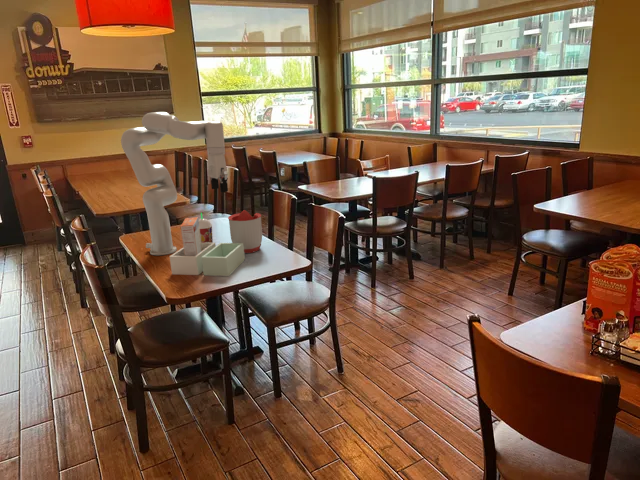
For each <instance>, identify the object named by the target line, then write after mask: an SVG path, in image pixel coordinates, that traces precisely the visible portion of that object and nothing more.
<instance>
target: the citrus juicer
mask: <svg viewBox="0 0 640 480" xmlns="http://www.w3.org/2000/svg"><path fill="white" fill-rule="evenodd" d="M227 219H228V221H229V222H228V224H229V233H230V240H231V243H243V245H244V254H253V253H255V252H258V251H260V249H261V246H262V241H263V229H262V228H263V227H262V225H263V224H262V214H261V213H259V212H256V213H254V214H253V216H252V215H251V214H250V213H249V212H248V211H247V210H245V209H244V210H242V211H241V212H240V213H234V214H231V215H230V216H228V217H227Z"/></svg>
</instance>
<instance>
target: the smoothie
mask: <svg viewBox="0 0 640 480" xmlns="http://www.w3.org/2000/svg"><path fill="white" fill-rule="evenodd" d="M198 220H199V228H200V235H201V242H202V243H214V242H213V241H214V240H213V227H212V226H213V224H212V223H211V221H210V220H208V219H207V218H204V217H203V212H200V218H198Z"/></svg>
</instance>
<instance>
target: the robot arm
mask: <svg viewBox="0 0 640 480" xmlns="http://www.w3.org/2000/svg"><path fill="white" fill-rule="evenodd" d="M141 124H142V126H139V127H138V126H137V127H131V128H128V129H127V130H125V131H123V133H122V135H121V138H120V139H121V140H120V143H121V149H122V150H123V153H124V154H125V155H126V158H127V159H128V161H129V163H130V166H131V168H132V170H133V172H134V175H135V177H136V180H137V182H138V183H139V185H140V186H142V187H151V186H156V187H152V188H149V189H147V190H145V192H144V193H143V195H142V202H143V203H142V204H143V205H144V208H145V211H146V214H147V215H146V216H147V220H148V221H147V222H148V227H149V234H150V239H151V243H150V242H146V243H145V249H150V251H149V254H150V255H151V256H167V255H170V254H171V255H172V254H174V253H176V252H177V251H178V249H177V247H176V245H175V246H174V244H173V237H172V231H171V224H170V217H169V214H168V211H167V210H166V209H165V206H169V205H172V204H173V203H175V202H176V201H177V199H178V191H177V188H176V186H175V184H174V181H173V179H172V177H171V174H170V172H169V170H168V169H167V167H166V166H164V165H163V164H160V163H154V164H152V163H151V160H150V159H149V156H148V155H147V153H146V152H145V151H144V150H143V148H141V147H145V146H150V145H156V144H157V143H159V142H160V141H161V140H162V139H163V138H164V137H165V136H166V135H168V136H171V137H173V138H175V139H179V140H183V141H184V140H185V141H195V140H196V141H197V140H203V139H204V140H206V152H207V169H208V170H207V171H208V172H207V173H208V176H209V178H210V184H211V190H216V189H217V190H218V189H220V193H227V192H228V193H229V189H228V186H229V185H228V179H229V178H228V172H227V163H226V157H225V155H226V148H225V147H226V146H225V136H224V125H223V123H222V122H221V121H217V120H216V121H213V120H212V121H209V120H199V121H198V120H197V121H181V120H180V119H179V118H178V117H177V116H175V115H172V114H170V113H168V112H166V111H155V112H148V113H145V114H144V115H143V116H142V119H141Z"/></svg>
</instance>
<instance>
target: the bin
mask: <svg viewBox="0 0 640 480" xmlns="http://www.w3.org/2000/svg"><path fill="white" fill-rule="evenodd" d="M245 260H246V256H245V253H244V245H243V243H232V242H219V243H218V244H217V245H216V247H214V248H213V249H212V250H210V251H209V252H208V253H206V254H205V255H204V256H202V265H203V271H202V272H203V276H217V277H218V276H219V277H221V276H222V277H229V276H230V275H231V274H232V273H234V271H236V269H237V268H238V267H240V265H241V264H243V262H244V261H245Z"/></svg>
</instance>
